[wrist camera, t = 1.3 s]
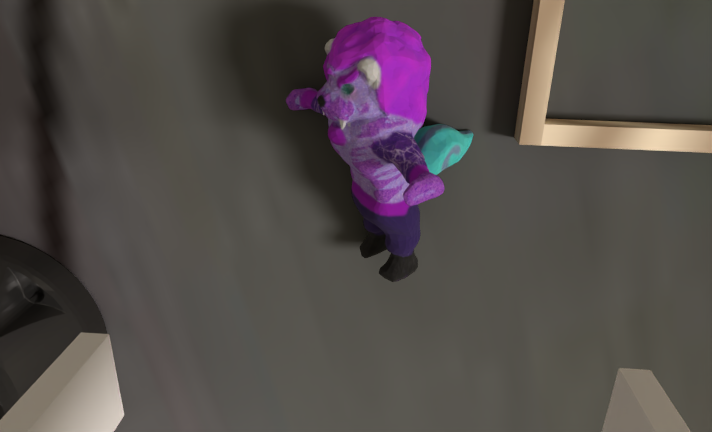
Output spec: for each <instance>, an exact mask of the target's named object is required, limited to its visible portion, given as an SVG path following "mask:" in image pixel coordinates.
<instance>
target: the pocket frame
mask: <svg viewBox="0 0 712 432" xmlns="http://www.w3.org/2000/svg"><path fill="white" fill-rule="evenodd" d="M564 1H565V0H534V2H533V9H532V16H531V23H530V30H529V37H528V44H527V51H526V58H525V65H524V72H523V79H522V86H521V93H520V100H519V107H518V114H517V121H516V128H515V135H514V138H515V139H516V141H517V142H518V143H519V144H521V145H544V146H567V147H590V148H613V149H636V150H659V151H682V152H705V153H712V125H693V124H668V123H643V122H618V121H594V120H569V119H545V118H546V112H547V105H548V99H549V93H550V87H551V81H552V75H553V69H554V63H555V56H556V50H557V44H558V38H559V32H560V26H561V20H562V14H563V7H564Z"/></svg>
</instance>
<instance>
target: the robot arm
mask: <svg viewBox="0 0 712 432" xmlns="http://www.w3.org/2000/svg"><path fill="white" fill-rule="evenodd" d="M123 416H124V411H123V406H122V400H121V395H120V390H119V384H118V379H117V374H116V368H115V363H114V358H113V352H112V347H111V342H110V336H109V334H107V331H106V327H105V324H104V320H103V318H102V315H101V313H100V311H99V309H98V307H97V305H96V303H95V301H94V300H93V298H92V297H91V295H90V294H89V292H88V291H87V290H86V289H85V287H84V286H83V285H82V284H81V283H80V281H79V280H78V279H77V278H76V277H75V276H74V275H73V274H72V273H71V272H69V271H68V270H67V269H66V268H65V267H64V266H62V265H61V264H60V263H58V262H57V261H56V260H54V259H53V258H51V257H50V256H48V255H47V254H45V253H43V252H41V251H40V250H38V249H36V248H34V247H32V246H29V245H27V244H25V243H22V242H19V241H16V240H13V239H10V238H6V237H2V236H0V432H114V430H115V429H116V427H117V426H118V424H119V422H120V421H121V419H122V418H123ZM602 432H691V431H690V430H689V428H688V427H687V425H686V424H685V422H684V421H683V419H682V418H681V416H680V414H679V413H678V411H677V410H676V408H675V407H674V405H673V404H672V402H671V401H670V399H669V398H668V396H667V395H666V393H665V392H664V390H663V389H662V387H661V385H660V384H659V382H658V381H657V379H656V378H655V376H654V375H653V373H652V372H651V370H641V369H626V368H619V370H618V373H617V377H616V381H615V385H614V388H613V392H612V396H611V400H610V403H609V407H608V411H607V415H606V418H605V422H604V426H603V430H602Z"/></svg>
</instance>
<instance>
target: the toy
mask: <svg viewBox="0 0 712 432" xmlns="http://www.w3.org/2000/svg"><path fill="white" fill-rule="evenodd" d="M325 51H326V53H327V57H326V60H325V62H324V65H323V69H324V73H325V77H326V80H327V82H326V83H325V84H324V86H323V87H322V88H321V89H320V90H319V91H317V90H316V89H313V88H303V89H294V90H293V91H292V92H291V93H290V94H289V96H288V97H287V98H286V103H287V105H288V107H289V109H291V110H306V109H312V110H314V111H315V112H318V113H321V114H323V115H326V117H328V127H329V129H328V137H329V139H330V142H331V145H332V146H333V148H334V150H335V151H336V152H337V153H338V154H339V155H340V156H341V157H342V159H343V160H344V161H345V162H346V163H347V164H348V165H349V166H350V172H351V177H352V179H353V182H352V188H351V191H352V198H353V201H354V203H355V205H356V207H357V209H358V210H359V212H360V213H361V215H362V216H363V217H364V220H363V223H364V227H365V228H366V230H367V231H369V233H368V235H367V237H366V239H365V240H364V242H363V243H362V244H361V245H360V251H361V255H362V256H363V257H364V258H368V257H371V256H373V255H376V254H378V253H380V252H382V251H384V250H386V249H387V250H388V251H389V252H391V255H390V257H389V259H388V261H387V262H386V263H385V264H384V265H383V266H382V267H381V268H380V271H379V274H380V275H382V276H383V277H384V278H386V279H388V280H390V281H392V282H395V281H399V280H401V279H403V278H406V277H408V276H409V275H410V274H412V273H413V272H414V271H415V270H416V269H417V267H418V260H417V258H416V256H415V254H414V248H415V247H416V245H417V243H418V241H419V238H420V212H419V208H418V205H417V204H419V203H422V202H424V201H426V200H429V199H432V198H435V197H438V196H439V195H441V194H443V192H444V184H443V181H442V180H441V179H440V178H439V176H437V174H439V173H440V172H441V171H443V170H444V169H446V168H447V167H449V166H451V165H453V164H455V163H456V162H458V161H459V160H460V159H461V158H462V156H463V155H464V154H465V153H466V151H467V149H468V148H469V146H470V144H471V141H472V138H473V133H472V132H471V131H470V130H466V131H457V130H456V129H454V128H453V127H450V126H448V125H445V124H436V125H431V126H425V127H423V128H421V127H422V125H423V123H424V120H425V117H426V114H427V109H426V101H427V92H428V90H429V75H430V70H431V58H430V56H429V55H428V53H427V52H426V50H425V49H424V48H423V45H422V42H421V36H420V35H419V34H418V33H417V32H416V31H415V30H414V29H412V28H411V27H409V26H408V25H407V24H405V23H402V22H400V21H390V20H388V19H386V18H382V17H370V18H368V19H366V20H364V21H362V22H357V23H354V24H350V25H346V26H345V27H344V28H342V29H341V30H340V31H338V33H337V36H336V38H333V39H330V40H329V41H328V42H327V43H326V45H325Z"/></svg>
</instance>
